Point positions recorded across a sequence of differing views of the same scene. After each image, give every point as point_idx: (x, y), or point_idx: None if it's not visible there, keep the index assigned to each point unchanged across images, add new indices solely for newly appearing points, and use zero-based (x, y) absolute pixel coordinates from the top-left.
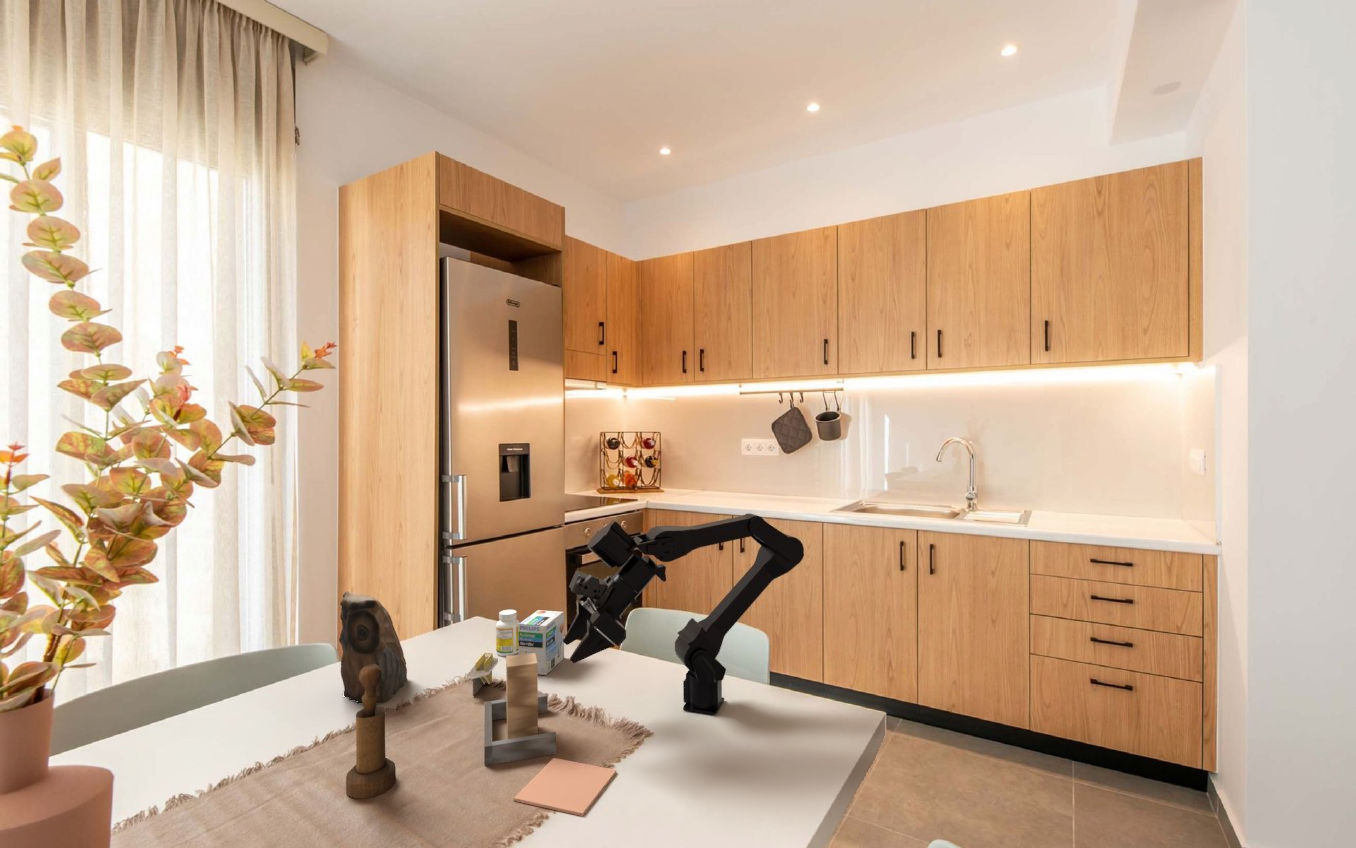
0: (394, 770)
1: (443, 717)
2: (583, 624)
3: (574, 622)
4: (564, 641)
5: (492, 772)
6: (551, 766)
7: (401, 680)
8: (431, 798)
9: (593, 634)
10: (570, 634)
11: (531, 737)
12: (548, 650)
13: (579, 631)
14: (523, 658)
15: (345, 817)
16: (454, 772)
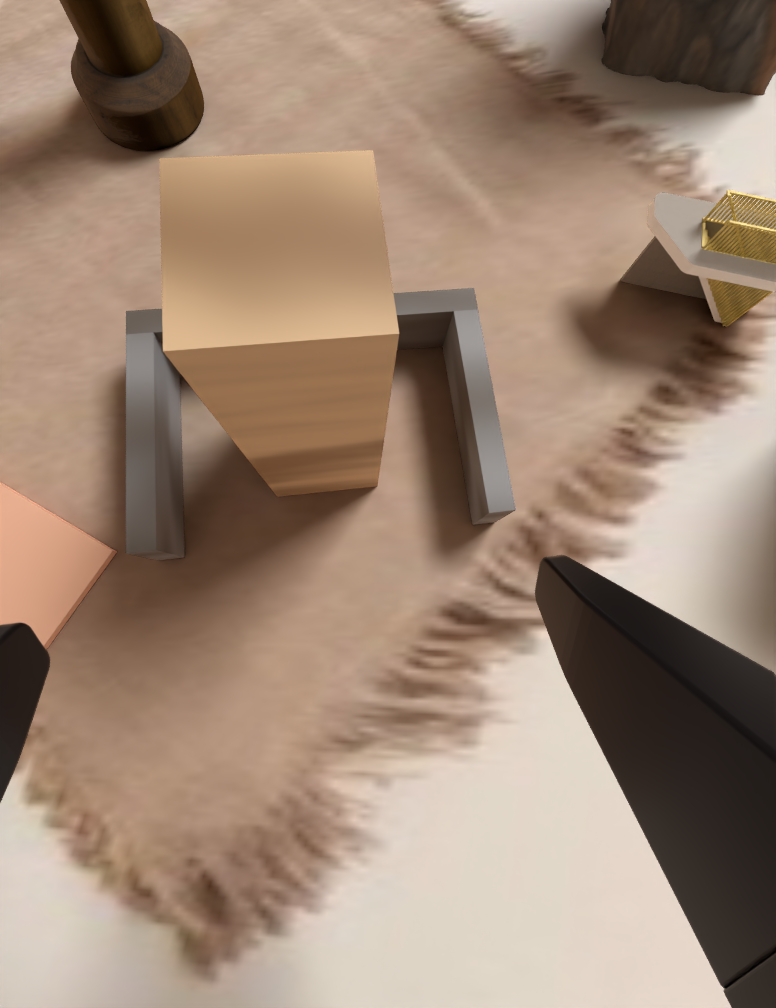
0: (124, 115)
1: (489, 214)
2: (751, 887)
3: (742, 732)
4: (544, 569)
5: (112, 372)
6: (58, 543)
7: (723, 63)
8: (35, 238)
9: None
10: (594, 638)
11: (139, 460)
12: None
13: (647, 768)
14: (296, 255)
15: (28, 85)
16: (149, 276)
